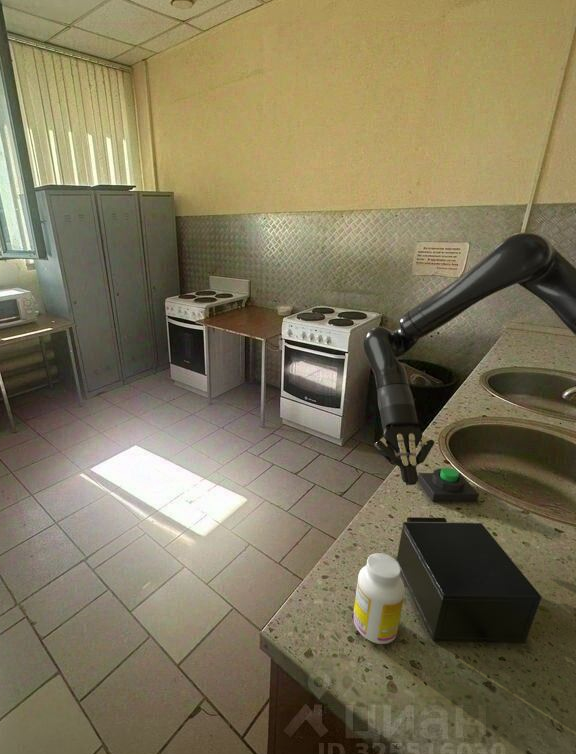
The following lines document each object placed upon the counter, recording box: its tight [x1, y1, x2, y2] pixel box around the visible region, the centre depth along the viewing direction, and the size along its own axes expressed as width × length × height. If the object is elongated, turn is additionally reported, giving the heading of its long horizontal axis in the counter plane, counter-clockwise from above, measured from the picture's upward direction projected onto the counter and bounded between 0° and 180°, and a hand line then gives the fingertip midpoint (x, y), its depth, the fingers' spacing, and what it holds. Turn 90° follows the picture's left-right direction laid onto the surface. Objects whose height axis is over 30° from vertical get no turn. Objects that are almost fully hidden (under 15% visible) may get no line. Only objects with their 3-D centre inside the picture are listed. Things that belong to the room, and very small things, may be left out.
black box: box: [396, 522, 542, 644], centre depth 66 cm, size 15×14×10 cm
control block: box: [417, 468, 480, 503], centre depth 93 cm, size 10×8×4 cm
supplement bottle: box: [353, 552, 406, 645], centre depth 61 cm, size 7×7×13 cm
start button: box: [440, 467, 460, 482], centre depth 92 cm, size 4×4×2 cm
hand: (411, 484), depth 84 cm, fingers closed
